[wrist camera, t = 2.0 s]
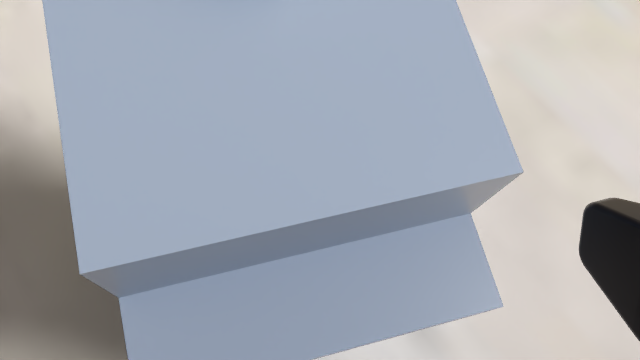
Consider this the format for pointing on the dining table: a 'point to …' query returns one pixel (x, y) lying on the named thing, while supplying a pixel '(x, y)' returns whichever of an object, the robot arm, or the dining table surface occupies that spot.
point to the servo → (277, 169)
